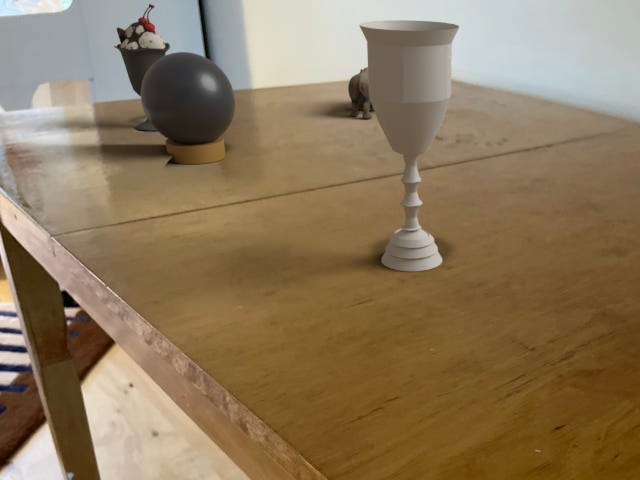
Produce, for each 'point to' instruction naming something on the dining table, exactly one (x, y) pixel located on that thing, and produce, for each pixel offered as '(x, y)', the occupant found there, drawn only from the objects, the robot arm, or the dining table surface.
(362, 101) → the rhino figurine
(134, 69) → the sundae
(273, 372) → the dining table surface
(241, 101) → the dining table surface
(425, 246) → the chalice
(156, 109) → the ball
